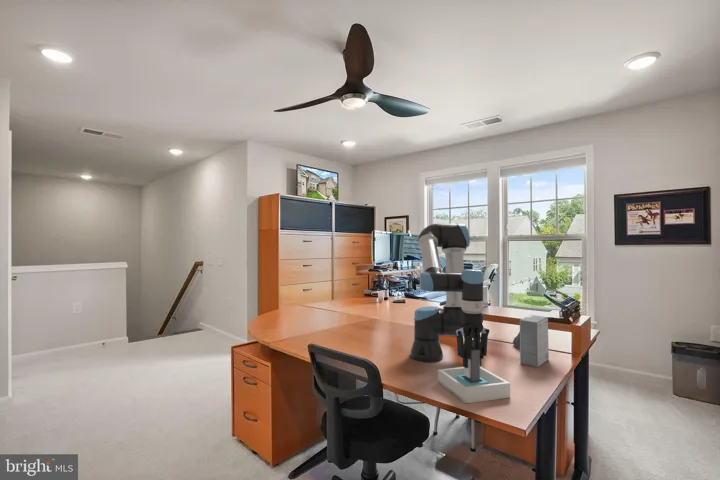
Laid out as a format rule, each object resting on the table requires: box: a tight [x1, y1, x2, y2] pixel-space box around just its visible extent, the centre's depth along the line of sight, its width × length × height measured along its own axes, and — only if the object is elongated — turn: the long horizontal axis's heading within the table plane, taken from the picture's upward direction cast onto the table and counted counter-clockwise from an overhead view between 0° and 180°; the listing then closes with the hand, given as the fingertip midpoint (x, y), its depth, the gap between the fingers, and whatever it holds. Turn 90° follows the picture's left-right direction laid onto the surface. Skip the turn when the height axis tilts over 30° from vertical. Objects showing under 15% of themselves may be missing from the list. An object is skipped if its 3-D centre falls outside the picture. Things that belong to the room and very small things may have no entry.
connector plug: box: [465, 339, 480, 383], centre depth 123 cm, size 4×3×15 cm
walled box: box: [437, 366, 511, 404], centre depth 123 cm, size 18×18×5 cm
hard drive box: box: [519, 314, 550, 368], centre depth 154 cm, size 16×8×20 cm, turn 134°
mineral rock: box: [512, 331, 520, 349], centre depth 175 cm, size 13×11×10 cm
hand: (472, 375), depth 123 cm, fingers closed on connector plug, 3 cm apart
